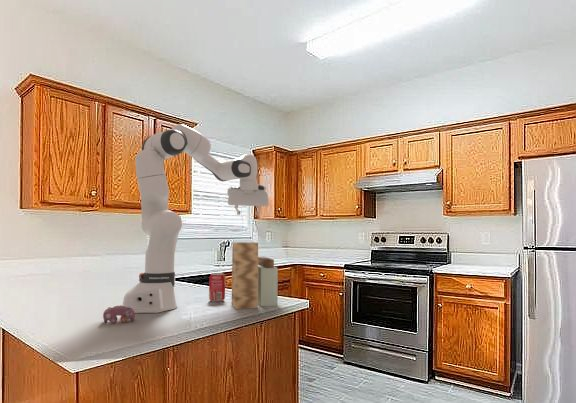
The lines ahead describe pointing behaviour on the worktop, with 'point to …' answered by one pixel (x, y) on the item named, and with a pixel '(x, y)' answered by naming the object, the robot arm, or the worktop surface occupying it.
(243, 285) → the oak stand
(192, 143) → the robot arm
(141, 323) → the worktop surface
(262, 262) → the walnut rod
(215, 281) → the soda can
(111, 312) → the video game controller
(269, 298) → the pale green block
